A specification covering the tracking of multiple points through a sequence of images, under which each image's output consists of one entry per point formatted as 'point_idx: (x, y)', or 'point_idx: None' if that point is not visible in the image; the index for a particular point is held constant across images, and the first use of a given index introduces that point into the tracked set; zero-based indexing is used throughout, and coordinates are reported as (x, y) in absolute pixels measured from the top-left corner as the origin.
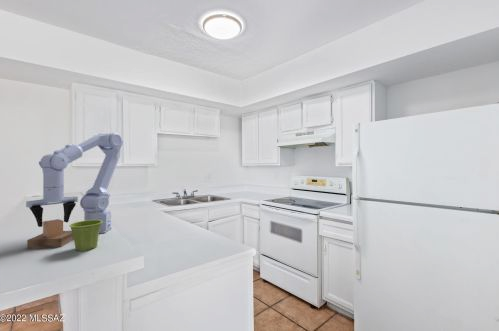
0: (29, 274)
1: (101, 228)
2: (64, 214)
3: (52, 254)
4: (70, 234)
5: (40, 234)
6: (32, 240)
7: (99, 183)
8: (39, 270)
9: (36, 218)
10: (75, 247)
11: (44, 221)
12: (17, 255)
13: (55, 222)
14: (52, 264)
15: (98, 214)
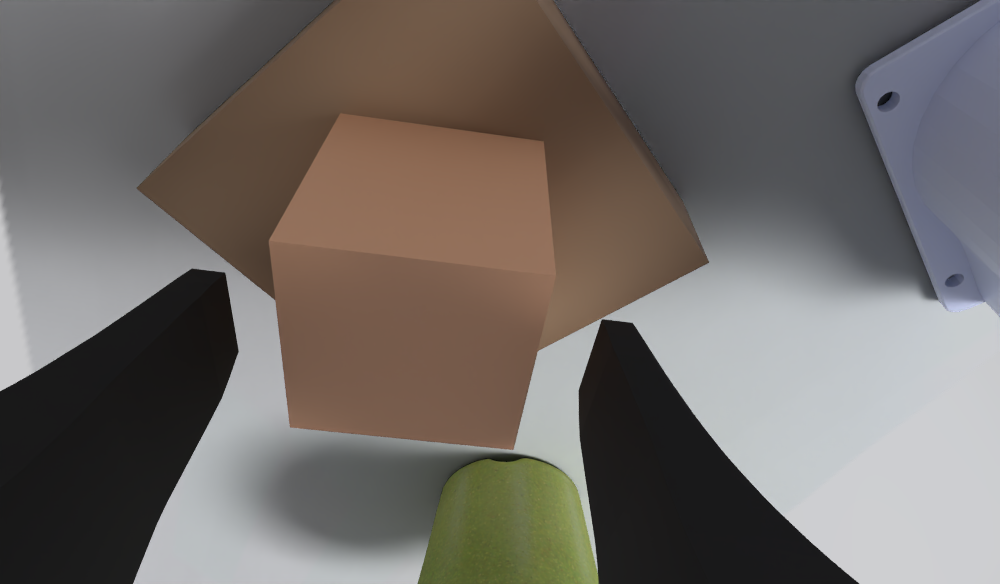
0: (158, 566)
1: (995, 293)
2: (631, 433)
3: (313, 439)
4: (576, 320)
5: (331, 14)
6: (192, 223)
7: None
8: (200, 562)
9: (83, 369)
10: (438, 505)
11: (291, 255)
12: (103, 261)
13: (401, 431)
14: (263, 550)
15: None
